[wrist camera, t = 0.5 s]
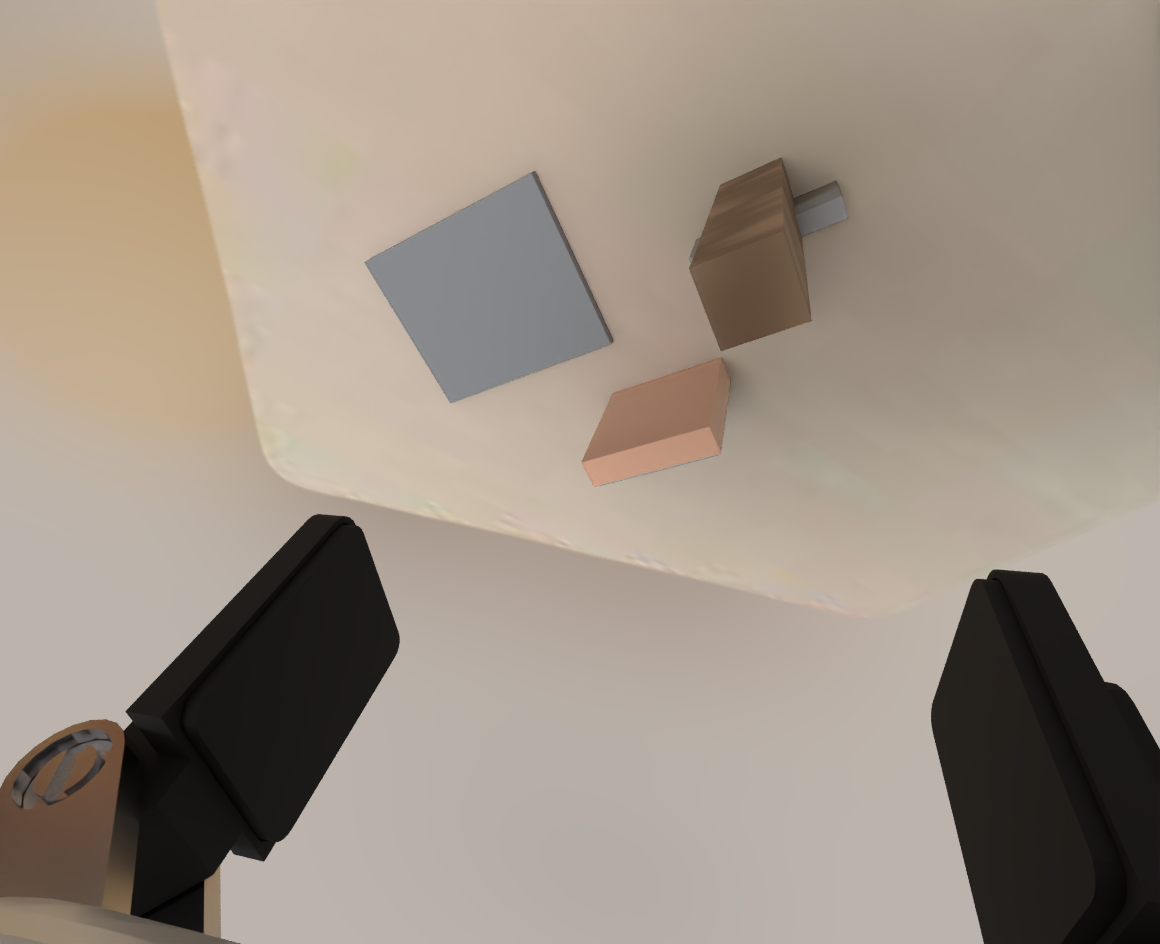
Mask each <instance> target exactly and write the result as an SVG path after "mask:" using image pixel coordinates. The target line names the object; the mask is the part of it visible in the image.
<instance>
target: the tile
mask: <svg viewBox="0 0 1160 944" xmlns="http://www.w3.org/2000/svg"><path fill="white" fill-rule="evenodd" d="M730 382H731V381H730V379H729V376H728V374H727V371H726V368H725V366H724V363H723V361H722V358H719V359H716V360H713V361H710V362H707V363H704V364H701V365H698V366H695V367H692V368H688V369H685V370H682V371H679V372H676V373H673V374H670V375H667V376H664V377H661V378H658V379H655V380H652V381H649V382H646V383H643V384H640V385H637V386H634V387H631V388H628V389H625V390H622V391H619V392H616V393H613V394H612V396H611V398H610V401H609V403H608V405H607V407H606V409H605V412H604V414H603V416H602V418H601V420H600V423H599V425H598V427H597V429H596V431H595V433H594V436H593V438H592V440H591V442H590V444H589V447H588V449H587V451H586V453H585V455H584V458H583V460H582V462H581V464H582V465H583V467H584V469H585V471H586V473H587V475H588V477H589V478H590V480H591V482H592V484H593V486H594V487H596V486H602V485H606V484H610V483H614V482H617V481H621V480H625V479H629V478H633V477H637V476H640V475H644V474H648V473H652V472H656V471H660V470H663V469H667V468H671V467H675V466H679V465H683V464H686V463H690V462H694V461H698V460H702V459H706V458H709V457H713V456H717V455H718V454H721V449H722V442H723V434H724V427H725V419H726V412H727V404H728V397H729V390H730Z"/></svg>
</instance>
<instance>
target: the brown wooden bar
mask: <svg viewBox="0 0 1160 944" xmlns="http://www.w3.org/2000/svg"><path fill="white" fill-rule="evenodd" d="M845 219H848V216H847V212H846V208H845V204H844V200H843V197H842V194H841V191H840V189H839V186H838V184H837V181H834V182H832V183H830V184H827V185H825V186H823V187H820V188H818V189H815V190H813V191H811V192H808V193H806V194H804V195H801V196H799V197H797V198H794V199H793V195H792V192H791V189H790V185H789V182H788V179H787V175H786V172H785V168H784V165H783V162H782V158H779V159H777V160H775V161H772V162H770V163H768V164H766V165H764V166H761V167H759V168H757V169H755V170H753V171H750V172H748V173H746V174H744V175H742V176H739V177H737V178H735V179H733V180H731V181H728V182H726V183H724V184H722V185H720V187H719V190H718V193H717V195H716V198H715V201H714V203H713V206H712V209H711V212H710V214H709V217H708V220H707V222H706V225H705V228H704V230H703V233H702V236H701V238H699V239H697V240H696V242H695V245H694V247H693V250H692V252H691V255H690V257H689V260H690V263H691V265H690V268H689V270H690V272H691V275H692V277H693V280H694V283H695V285H696V288H697V290H698V293H699V296H700V298H701V301H702V303H703V306H704V309H705V311H706V314H707V316H708V319H709V322H710V324H711V327H712V329H713V332H714V335H715V337H716V340H717V342H718V345H719V348H720V350H721V351H723V350H726V349H729V348H732V347H735V346H738V345H741V344H744V343H747V342H750V341H753V340H756V339H759V338H762V337H765V336H768V335H771V334H774V333H777V332H780V331H782V330H785V329H788V328H791V327H794V326H797V325H800V324H803V323H806V322H809V321H812V320H811V312H810V303H809V295H808V287H807V278H806V270H805V262H804V253H803V245H802V236H804V235H807V234H809V233H812V232H815V231H817V230H820V229H822V228H825V227H827V226H830V225H832V224H835V223H837V222H840V221H843V220H845Z"/></svg>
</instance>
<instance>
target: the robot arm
mask: <svg viewBox="0 0 1160 944" xmlns="http://www.w3.org/2000/svg"><path fill="white" fill-rule="evenodd" d="M399 638H400V637H399V633H398V630H397V627H396V624H395V621H394V618H393V615H392V612H391V610H390V607H389V604H388V601H387V598H386V596H385V593H384V590H383V587H382V584H381V581H380V578H379V575H378V573H377V570H376V567H375V564H374V561H373V558H372V556H371V553H370V550H369V547H368V544H367V542H366V539H365V536H364V533H363V531H362V529H361V528H360V527H358V526H356V525H355V523H354V521H353V520H352V519H351V518H350V517H345V516H333V515H322V514H317V515H314V516H312V517H311V518H310V519H308V520H307V521H306V522H305V523H304V525H303V526H302V527H301V528H300V529H299V530H298V531H297V532H296V533H295V534H294V535H293V536H292V537H291V538H290V539H289V540H288V541H287V542H286V543H285V545H283V547H282V548H281V549H280V550H279V551H278V552H277V553H276V554H275V555H274V556H273V557H272V558H271V559H270V560H269V561H268V562H267V563H266V564H265V565H264V566H263V568H262V569H261V570H260V571H259V572H258V573H257V574H256V575H255V576H254V577H253V578H252V579H251V580H250V581H249V582H248V583H247V584H246V585H245V586H244V587H243V589H242V590H241V591H240V592H239V593H238V594H237V595H236V596H235V597H234V598H233V599H232V600H231V601H230V602H229V603H228V604H227V605H226V606H225V608H224V609H223V610H222V611H221V612H220V613H219V614H218V615H217V616H216V617H215V618H214V619H213V620H212V621H211V622H210V623H209V624H208V625H207V626H206V627H205V628H204V630H203V631H202V632H201V633H200V634H199V635H198V636H197V637H196V638H195V639H194V640H193V641H192V642H191V643H190V644H189V645H188V646H187V647H186V648H185V649H184V650H183V652H182V653H181V654H180V655H179V656H178V657H177V658H176V659H175V660H174V661H173V662H172V663H171V664H170V665H169V666H168V667H167V668H166V669H165V670H164V671H163V673H162V674H161V675H160V676H159V677H158V678H157V679H156V680H155V681H154V682H153V683H152V684H151V685H150V686H149V687H148V688H147V689H146V690H145V691H144V692H143V694H142V695H141V696H140V697H139V698H138V699H137V700H136V701H135V702H134V703H133V704H132V705H131V706H130V707H129V708H128V709H127V711H126V713H127V714H128V715H129V717H130V718H131V719H132V723H131V724H130V725H129V726H128V727H127V728H126V729H125V730H123V729H122V728H121V727H120V726H119V725H118V724H117V723H115V722H112V721H109V720H106V719H105V720H90V721H86V722H82V723H79V724H75V725H72V726H70V727H68V728H66V729H64V730H62V731H60V732H58V733H56V734H53V735H52V736H50V737H49V738H47V739H46V740H44V741H43V742H42V743H40V744H38V745H37V746H36V747H34V748H33V749H32V750H31V751H30V752H29V753H28V754H26V755H25V756H24V757H23V758H22V759H21V760H20V761H19V762H18V763H17V764H16V765H15V767H14V768H13V769H12V770H11V771H10V773H9V774H8V775H7V776H6V778H5V780H4V782H3V784H2V786H1V788H0V944H239V943H236V942H232V941H228V940H225V939H221V927H220V926H221V923H220V922H221V921H220V864H221V863H222V861H223V860H224V858H225V857H226V855H227V853H228V852H229V850H231V851H232V852H233V854H235V855H239V856H243V857H247V858H252V859H256V860H259V861H265V859H266V858H267V856H268V854H269V853H270V851H271V849H272V848H273V846H274V844H275V843H276V842H279V841H281V840H283V839H284V838H285V837H286V836H287V835H288V834H289V832H290V831H291V829H292V828H293V826H294V824H295V823H296V821H297V819H298V818H299V816H300V814H301V813H302V811H303V809H304V807H305V806H306V804H307V802H308V801H309V799H310V798H311V796H312V794H313V793H314V791H315V789H316V788H317V786H318V784H319V783H320V781H321V779H322V778H323V776H324V774H325V773H326V771H327V769H328V768H329V766H330V764H331V763H332V761H333V759H334V758H335V756H336V754H337V752H338V751H339V749H340V748H341V746H342V744H343V743H344V741H345V739H346V738H347V736H348V734H349V732H350V731H351V729H352V728H353V726H354V724H355V723H356V721H357V719H358V718H359V716H360V714H361V713H362V711H363V709H364V708H365V706H366V704H367V703H368V701H369V699H370V698H371V696H372V694H373V693H374V691H375V689H376V688H377V686H378V684H379V683H380V681H381V679H382V678H383V676H384V674H385V673H386V671H387V669H388V668H389V666H390V664H391V663H392V661H393V659H394V658H395V656H396V654H397V651H398V648H399V643H400V641H399V640H400V639H399ZM931 723H932V730H933V734H934V739H935V743H936V747H937V751H938V755H939V759H940V763H941V767H942V772H943V776H944V780H945V784H946V788H947V792H948V797H949V801H950V804H951V809H952V813H953V817H954V821H955V825H956V829H957V834H958V838H959V842H960V846H961V850H962V854H963V858H964V863H965V867H966V871H967V875H968V879H969V883H970V887H971V891H972V895H973V899H974V904H975V908H976V912H977V916H978V920H979V924H980V928H981V933H982V937H983V941H984V944H1160V749H1159V747H1158V745H1157V743H1156V742H1155V740H1154V738H1153V736H1152V734H1151V733H1150V731H1149V729H1148V727H1147V725H1146V724H1145V722H1144V720H1143V718H1142V716H1141V715H1140V713H1139V711H1138V709H1137V707H1136V706H1135V704H1134V702H1133V701H1132V699H1131V698H1130V697H1129V695H1128V694H1127V693H1126V691H1125V690H1123V689H1122V688H1121V687H1119V686H1118V685H1117V684H1113V683H1108V682H1104V680H1103V678H1102V676H1101V675H1100V673H1099V671H1098V669H1097V667H1096V665H1095V663H1094V661H1093V659H1092V658H1091V656H1090V654H1089V652H1088V650H1087V648H1086V646H1085V644H1084V642H1083V641H1082V639H1081V637H1080V635H1079V633H1078V631H1077V630H1076V627H1075V625H1074V624H1073V622H1072V620H1071V618H1070V616H1069V614H1068V612H1067V610H1066V608H1065V606H1064V605H1063V603H1062V601H1061V599H1060V597H1059V595H1058V593H1057V591H1056V589H1055V588H1054V586H1053V584H1052V582H1051V581H1050V579H1049V578H1048V576H1046V575H1045V574H1043V573H1032V572H1020V571H1008V570H992V571H991V572H990V573H989V575H988V577H987V580H986V579H976V580H975V581H974V582H973V584H972V586H971V589H970V592H969V595H968V598H967V601H966V604H965V607H964V610H963V613H962V616H961V619H960V622H959V625H958V628H957V631H956V634H955V637H954V640H953V643H952V646H951V649H950V652H949V655H948V658H947V661H946V664H945V667H944V670H943V673H942V676H941V679H940V682H939V685H938V688H937V691H936V695H935V697H934V700H933V704H932V710H931Z"/></svg>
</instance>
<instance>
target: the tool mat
mask: <svg viewBox="0 0 1160 944" xmlns="http://www.w3.org/2000/svg"><path fill="white" fill-rule="evenodd" d="M364 263H365V264H366V266H367V268H368V269H369V271H370V272H371V274H372V276H373V277H374V279H375V281H376V282H377V284H378V286H379V287H380V289H381V290H382V292H383V294H384V295H385V297H386V299H387V300H388V302H389V304H390V305H391V307H392V308H393V310H394V312H395V313H396V315H397V317H398V318H399V320H400V322H401V323H402V325H403V326H404V328H405V330H406V331H407V333H408V335H409V336H410V338H411V340H412V341H413V343H414V344H415V346H416V348H417V349H418V351H419V353H420V354H421V356H422V358H423V359H424V361H425V362H426V364H427V366H428V367H429V369H430V371H431V372H432V374H433V375H434V377H435V379H436V380H437V382H438V384H439V385H440V387H441V389H442V390H443V392H444V393H445V395H446V397H447V398H448V400H449V402H450V403H453V402H455V401H458V400H461V399H464V398H466V397H469V396H472V395H474V394H477V393H480V392H483V391H485V390H488V389H491V388H493V387H496V386H499V385H502V384H504V383H507V382H510V381H512V380H515V379H518V378H521V377H523V376H526V375H529V374H531V373H534V372H537V371H540V370H542V369H545V368H548V367H550V366H553V365H556V364H559V363H561V362H564V361H567V360H569V359H572V358H575V357H578V356H580V355H583V354H586V353H588V352H591V351H594V350H597V349H599V348H602V347H605V346H607V345H610V344H611V343H612V341H613V339H612V337H611V335H610V333H609V330H608V328H607V326H606V324H605V322H604V320H603V317H602V315H601V313H600V311H599V309H598V307H597V304H596V302H595V300H594V298H593V296H592V294H591V291H590V289H589V287H588V285H587V283H586V281H585V278H584V276H583V274H582V272H581V270H580V268H579V265H578V263H577V261H576V259H575V257H574V255H573V252H572V250H571V248H570V246H569V244H568V242H567V239H566V237H565V235H564V233H563V231H562V229H561V226H560V224H559V222H558V220H557V218H556V216H555V213H554V211H553V209H552V207H551V205H550V203H549V201H548V198H547V196H546V194H545V192H544V190H543V188H542V185H541V183H540V181H539V179H538V177H537V175H536V172H535V171H534V172H532V173H530V174H529V175H527V176H525V177H523V178H521V179H519V180H517V181H515V182H514V183H512V184H510V185H508V186H506V187H504V188H502V189H500V190H499V191H497V192H495V193H493V194H491V195H489V196H487V197H485V198H484V199H482V200H480V201H478V202H476V203H474V204H472V205H470V206H469V207H467V208H465V209H463V210H461V211H459V212H457V213H455V214H454V215H452V216H450V217H448V218H446V219H444V220H442V221H441V222H439V223H437V224H435V225H433V226H431V227H429V228H427V229H426V230H424V231H422V232H420V233H418V234H416V235H414V236H412V237H411V238H409V239H407V240H405V241H403V242H401V243H399V244H397V245H396V246H394V247H392V248H390V249H388V250H386V251H384V252H382V253H381V254H379V255H377V256H375V257H373V258H371V259H369V260H367V261H366V262H364Z"/></svg>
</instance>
